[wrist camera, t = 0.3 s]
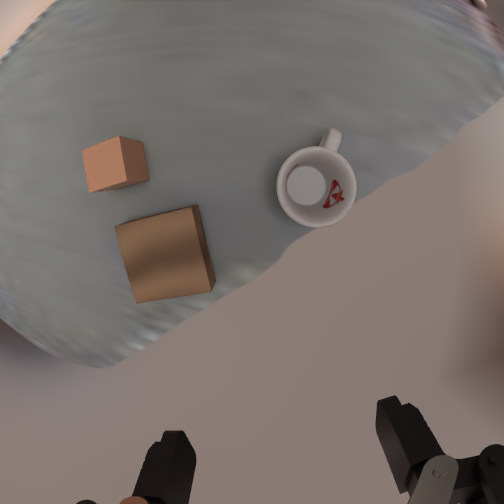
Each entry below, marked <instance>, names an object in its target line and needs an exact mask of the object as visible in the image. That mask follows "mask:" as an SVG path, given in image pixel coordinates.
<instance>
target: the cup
mask: <svg viewBox="0 0 504 504" xmlns="http://www.w3.org/2000/svg"><path fill="white" fill-rule="evenodd" d="M341 139H342V134H341V132H340V131H339V130H337V129H334V128H329V129H328V130H327V131H326V132H325V134H324V136H323V138H322V140H321V142H320V144H319V146H311V147H306V148H303V149H300V150H298V151H296V152H294V153H293V154H292V155H290V156H289V157H288V158H287V159H286V160H285V162H284V163H283V164H282V166H281V168H280V170H279V173H278V176H277V181H276V191H277V197H278V200H279V202H280V205H281V207H282V208H283V210H284V211H285V212H286V214H287V215H288V216H289V217H290V218H291V219H293V220H294V221H296V222H297V223H299V224H301V225H304V226H307V227H312V228H322V227H327V226H330V225H333V224H335V223H337V222H339V221H340V220H341V219H343V218H344V217H345V216H346V215H347V214H348V212H349V210H350V209H351V207H352V206H353V203H354V201H355V197H356V189H357V186H356V179H355V175H354V172H353V170H352V168H351V166H350V165H349V163H348V162H347V161H346V160H345V158H343V157H342V156H341V155H340V154H339V153H337V151H338V148H339V145H340V142H341Z"/></svg>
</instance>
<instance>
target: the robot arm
mask: <svg viewBox="0 0 504 504" xmlns="http://www.w3.org/2000/svg"><path fill="white" fill-rule="evenodd" d="M376 432H377V435H378V438H379V441H380V443H381V445H382V448H383V451H384V453H385V455H386V458H387V461H388V463H389V466H390V468H391V471H392V474H393V476H394V479H395V482H396V484H397V487H398V490H399V492H400V494H401V493H404V492H406V491H408V493H409V495H410V499H409V501H408V504H458V503H460V504H504V446H502V445H499V444H494V445H490V446H488V447H486V448H485V449H484V450H483V451H482V452H481V454H480V455H478V456H474V457H469V458H464V459H454V458H452V457H450V456H447V455H446V454H445V453H444V452H443V451H442V449H441V447H440V445H439V444H438V442H437V440H436V438H435V437H434V435H433V433H432V432H431V430H430V428H429V427H428V425H427V423H426V421H425V420H424V418H423V416H422V415H421V413H420V411H419V409H417V408H416V407H415V406H413V405H412V404H410V403H408V404H404V405H401V403H400V401H399V400H398V398H397V397H396V396H395V395H394V396H391V397H388V398H384V399H381V400H378V402H377V412H376ZM142 467H143V468H142V469H141V471H140V474H139V477H138V480H137V483H136V486H135V489H134V492H133V494H132V496H131V497H128V498H125V499H124V500H122V501H121V502H120V504H188V503H189V498H190V492H191V487H192V482H193V477H194V472H195V467H196V453H195V451H194V449H193V447H192V445H191V444H190V442H189V440H188V438H187V436H186V434H185V433H184V431H182V430H181V431H165V432H164V433H163V436H162V439H161V442H155V443H154V444H153V445H152V446H151V447H150V448H149V449H148V452H147V454H146V457H145V461H144V463H143V466H142ZM77 504H96V503H95V502H93V501H91V500H82V501H80V502H78V503H77Z"/></svg>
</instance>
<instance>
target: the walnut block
mask: <svg viewBox="0 0 504 504" xmlns="http://www.w3.org/2000/svg"><path fill="white" fill-rule="evenodd" d="M114 227H115V231H116V235H117V239H118V243H119V246H120V250H121V254H122V257H123V261H124V264H125V268H126V271H127V275H128V278H129V281H130V284H131V288H132V291H133V294H134V297H135V300H136V303H143V302H149V301H156V300H162V299H169V298H175V297H181V296H187V295H193V294H199V293H205V292H211V291H212V289H213V286H214V284H215V282H216V280H215V276H214V272H213V268H212V264H211V260H210V256H209V252H208V248H207V243H206V239H205V235H204V230H203V226H202V222H201V217H200V213H199V208H198V205H194V206H190V207H185V208H181V209H177V210H173V211H169V212H164V213H160V214H156V215H152V216H148V217H144V218H140V219H137V220H133V221H129V222H126V223H123V224H120V225H117V226H114Z"/></svg>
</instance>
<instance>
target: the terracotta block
mask: <svg viewBox="0 0 504 504" xmlns="http://www.w3.org/2000/svg"><path fill="white" fill-rule="evenodd" d="M82 153H83V160H84V166H85V172H86V178H87V184H88V189H89V193H92V192H101V191H109V190H117V189H120V188H124V187H127V186H130V185H134V184H137V183H141V182H144V181H148V180H150V179H149V174H148V169H147V164H146V159H145V153H144V147H143V143H142V142H139V141H135V140H132V139H128V138H125V137H121V136H118V137H115V138H112V139H110V140H107V141H104V142H102V143H99V144H97V145H94V146H92V147H89V148H87V149H84V150H82Z"/></svg>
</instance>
